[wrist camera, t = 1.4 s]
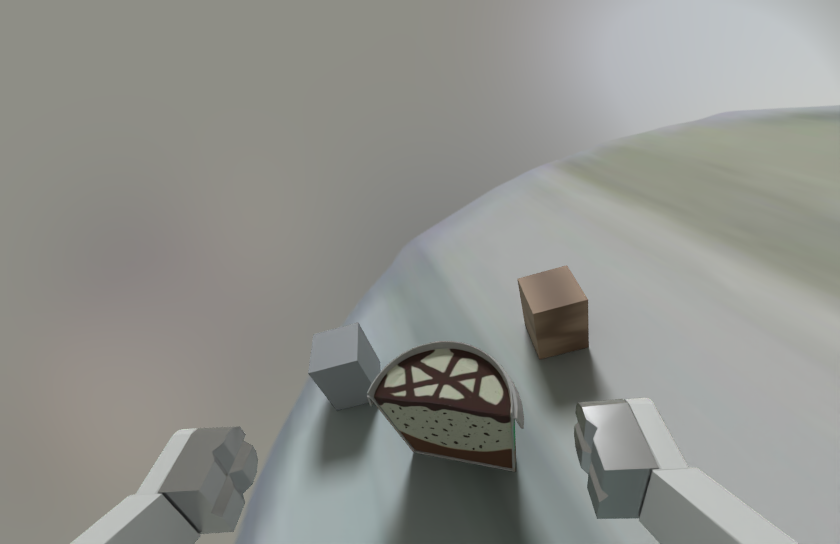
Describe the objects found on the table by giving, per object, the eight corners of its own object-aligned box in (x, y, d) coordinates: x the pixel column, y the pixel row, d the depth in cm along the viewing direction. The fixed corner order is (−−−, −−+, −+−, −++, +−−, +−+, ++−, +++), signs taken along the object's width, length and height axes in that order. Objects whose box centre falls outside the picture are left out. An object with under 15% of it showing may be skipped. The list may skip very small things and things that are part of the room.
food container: (540, 407, 38) (529, 340, 31) (533, 475, 33) (520, 413, 27) (418, 392, 42) (387, 331, 36) (399, 449, 38) (361, 392, 32)
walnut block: (569, 312, 45) (566, 265, 40) (588, 347, 41) (587, 299, 37) (524, 324, 45) (517, 278, 41) (539, 359, 41) (533, 313, 37)
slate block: (380, 361, 47) (358, 322, 42) (381, 399, 43) (357, 360, 39) (339, 372, 47) (313, 334, 43) (336, 410, 44) (308, 373, 39)
